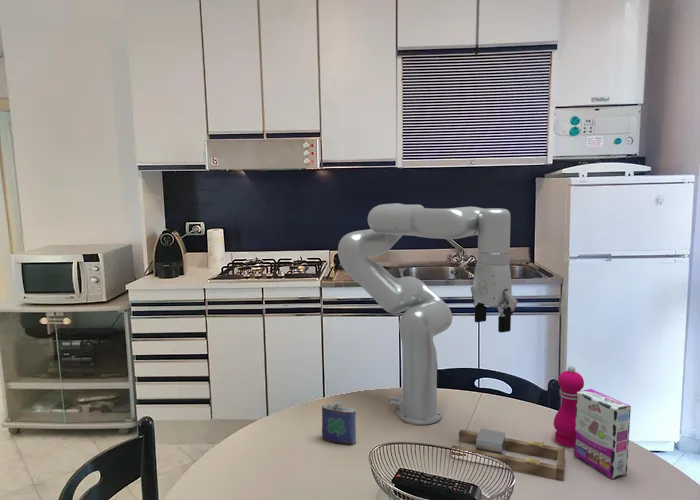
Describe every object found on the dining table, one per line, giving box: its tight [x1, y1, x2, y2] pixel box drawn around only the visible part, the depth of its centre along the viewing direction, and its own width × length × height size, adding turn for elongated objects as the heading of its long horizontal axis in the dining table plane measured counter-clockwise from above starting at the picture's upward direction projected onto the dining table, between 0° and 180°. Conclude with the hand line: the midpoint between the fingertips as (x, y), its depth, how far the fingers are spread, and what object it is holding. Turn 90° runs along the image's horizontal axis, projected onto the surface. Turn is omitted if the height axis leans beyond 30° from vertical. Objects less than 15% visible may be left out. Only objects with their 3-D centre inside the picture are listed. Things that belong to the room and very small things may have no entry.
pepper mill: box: [553, 365, 585, 448], centre depth 132 cm, size 7×7×20 cm
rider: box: [475, 427, 507, 455], centre depth 127 cm, size 6×6×5 cm
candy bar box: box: [573, 388, 632, 480], centre depth 121 cm, size 11×5×16 cm, turn 23°
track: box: [450, 429, 566, 481], centre depth 125 cm, size 25×10×3 cm, turn 66°
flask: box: [321, 400, 357, 446], centre depth 134 cm, size 9×3×11 cm, turn 68°
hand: (491, 326), depth 131 cm, fingers open, 9 cm apart
